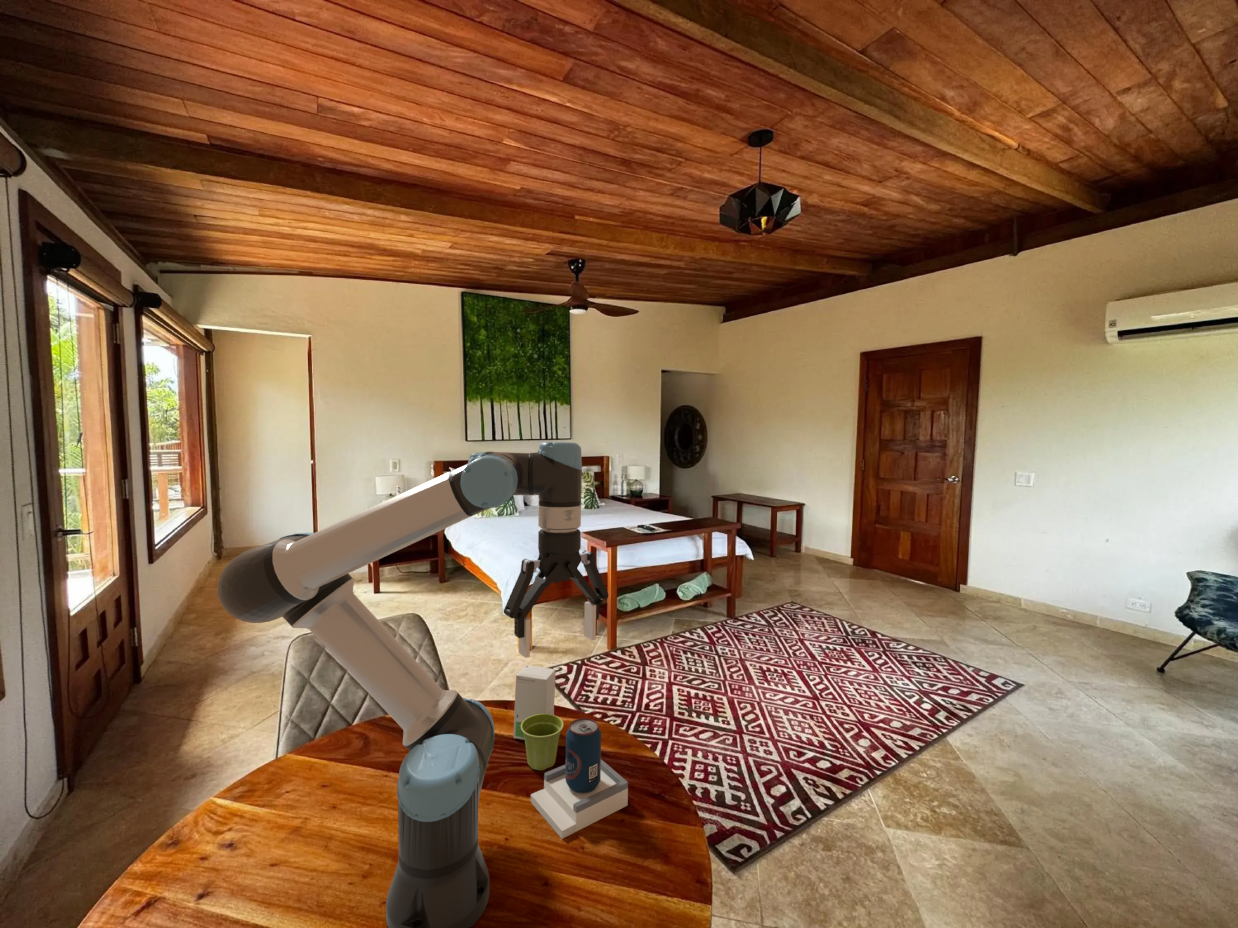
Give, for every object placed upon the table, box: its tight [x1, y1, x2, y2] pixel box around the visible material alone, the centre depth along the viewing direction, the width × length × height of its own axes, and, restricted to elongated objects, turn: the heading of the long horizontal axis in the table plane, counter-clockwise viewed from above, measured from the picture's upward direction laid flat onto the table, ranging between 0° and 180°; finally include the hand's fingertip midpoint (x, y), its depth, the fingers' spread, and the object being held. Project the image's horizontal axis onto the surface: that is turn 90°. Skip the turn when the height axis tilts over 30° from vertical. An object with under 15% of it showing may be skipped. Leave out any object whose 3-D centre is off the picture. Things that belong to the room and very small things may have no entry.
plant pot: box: [521, 713, 564, 771], centre depth 117 cm, size 9×9×9 cm
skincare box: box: [513, 664, 557, 741], centre depth 128 cm, size 8×7×16 cm
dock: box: [530, 758, 629, 840], centre depth 104 cm, size 15×12×5 cm
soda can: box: [565, 717, 602, 794], centre depth 105 cm, size 7×7×12 cm
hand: (558, 646), depth 95 cm, fingers open, 13 cm apart
